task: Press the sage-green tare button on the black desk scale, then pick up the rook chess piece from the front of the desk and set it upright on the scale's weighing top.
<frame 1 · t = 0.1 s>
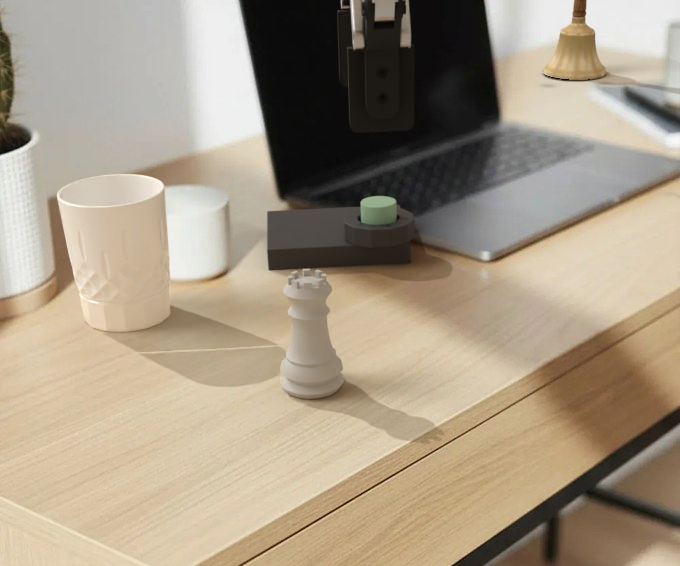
hand: (374, 105, 64), 21 cm above the table, tool pointing down, fingers open, 9 cm apart
hand bell: (574, 75, 157), on the table
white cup: (128, 318, 94), on the table
scale: (336, 247, 105), on the table
rook chess piece: (312, 388, 83), on the table
tare button: (378, 211, 101), point 4 cm above the table, slide at 0.1 cm
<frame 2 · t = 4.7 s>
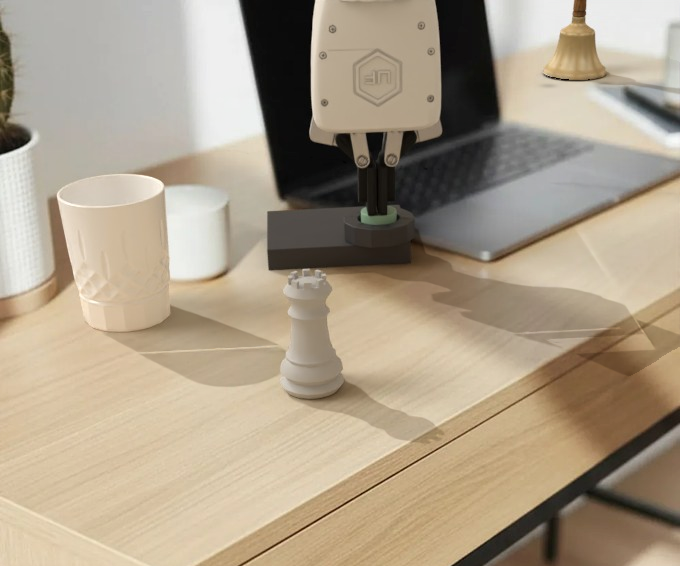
hand: (376, 209, 101), 4 cm above the table, tool pointing down, fingers closed
tare button: (378, 220, 101), point 3 cm above the table, slide at -0.6 cm, touching gripper
everything else where it was.
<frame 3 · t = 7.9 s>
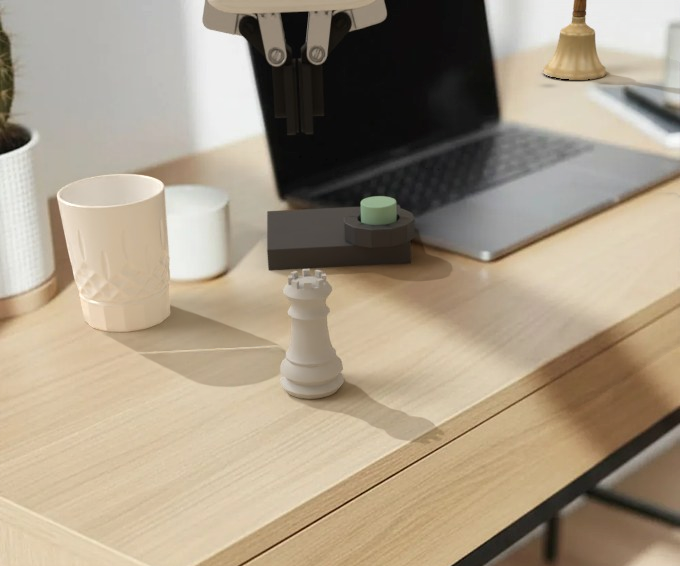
hand: (300, 128, 73), 17 cm above the table, tool pointing down, fingers closed
tare button: (378, 211, 101), point 4 cm above the table, slide at 0.1 cm
everything else where it was.
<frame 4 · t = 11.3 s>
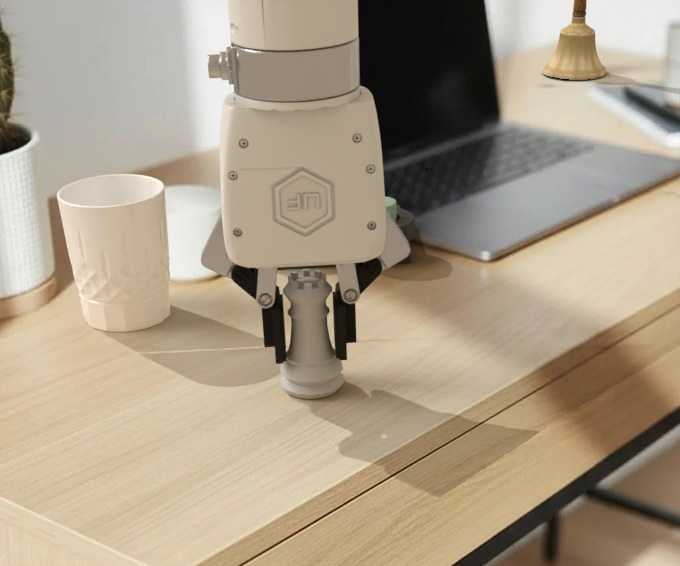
hand: (310, 351, 81), 3 cm above the table, tool pointing down, fingers closed on rook chess piece, 3 cm apart
rook chess piece: (312, 388, 83), on the table, touching gripper
everything else where it was.
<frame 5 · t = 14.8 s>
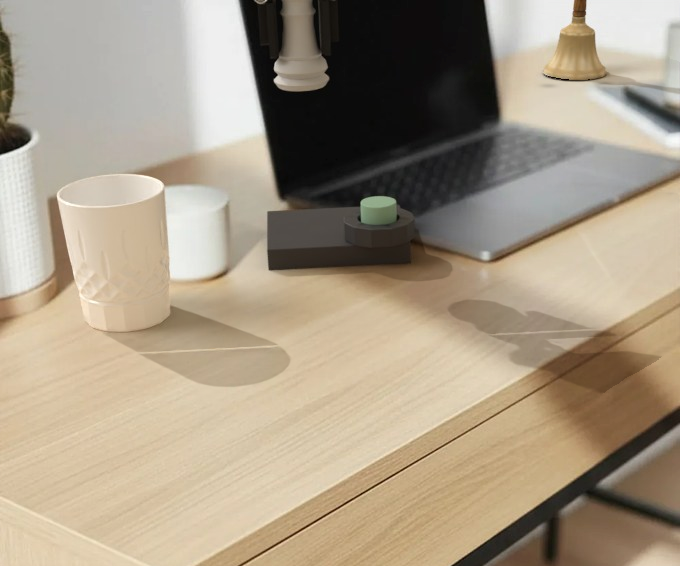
hand: (299, 50, 94), 17 cm above the table, tool pointing down, fingers closed on rook chess piece, 3 cm apart
rook chess piece: (301, 88, 96), point 14 cm above the table, touching gripper
everything else where it was.
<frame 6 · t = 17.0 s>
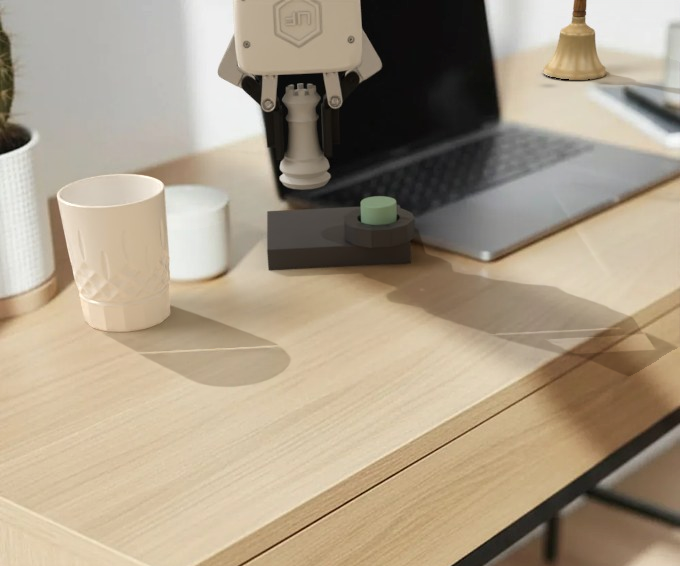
hand: (303, 152, 102), 8 cm above the table, tool pointing down, fingers closed on rook chess piece, 3 cm apart
rook chess piece: (305, 184, 104), point 5 cm above the table, touching gripper
everything else where it was.
when the fingers open (5 cm above the table, at t = 18.4 s): rook chess piece stays where it is, resting on scale.
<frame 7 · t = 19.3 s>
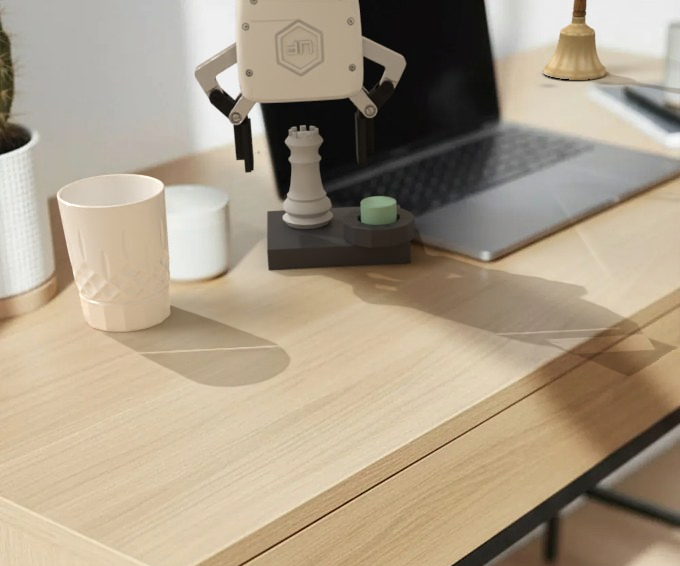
hand: (305, 164, 103), 7 cm above the table, tool pointing down, fingers open, 9 cm apart
rook chess piece: (308, 223, 106), point 2 cm above the table, touching scale
everything else where it was.
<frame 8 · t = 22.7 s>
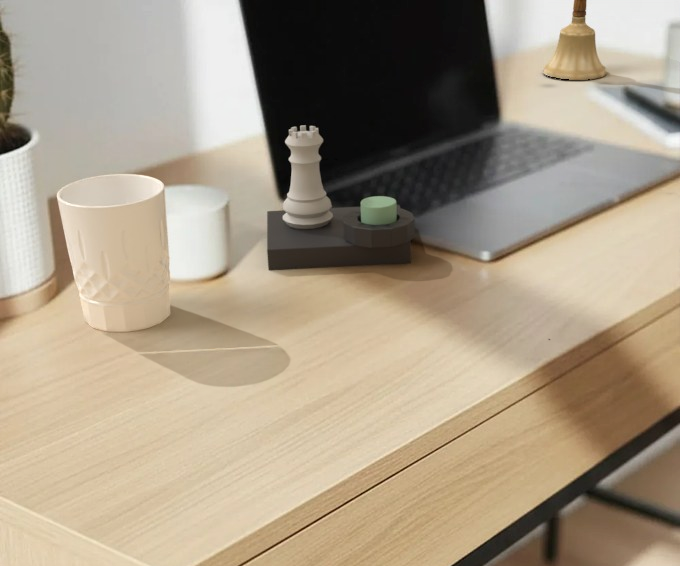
nothing on the table moved.
at the end: tare button pushed in 0.9 cm at the most during the clip, back to where it started at the end; rook chess piece inside the target area on the scale (2.8 cm from its centre), point 1.7 cm above the scale's base; rook chess piece touching scale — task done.
